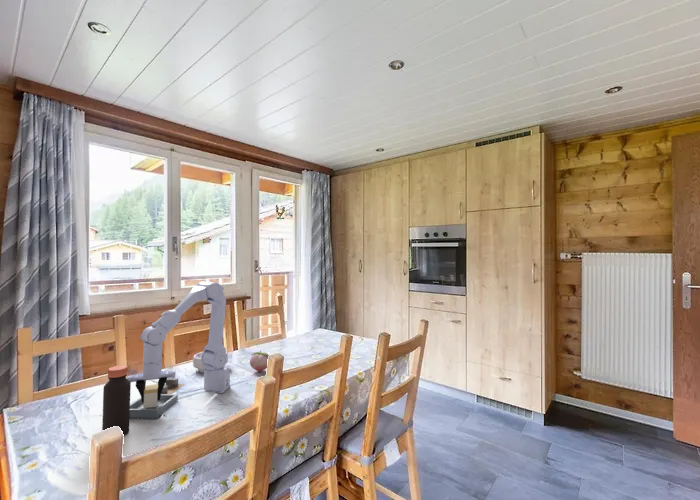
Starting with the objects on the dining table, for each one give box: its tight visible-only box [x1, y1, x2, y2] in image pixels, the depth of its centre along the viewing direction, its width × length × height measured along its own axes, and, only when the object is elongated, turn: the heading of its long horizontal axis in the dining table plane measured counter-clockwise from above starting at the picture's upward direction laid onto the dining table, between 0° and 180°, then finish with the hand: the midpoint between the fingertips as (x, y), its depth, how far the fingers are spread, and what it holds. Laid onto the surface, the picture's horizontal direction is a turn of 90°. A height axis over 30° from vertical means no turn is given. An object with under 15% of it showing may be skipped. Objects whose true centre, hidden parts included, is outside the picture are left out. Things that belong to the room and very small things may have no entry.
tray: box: [130, 393, 179, 420], centre depth 116 cm, size 12×13×3 cm
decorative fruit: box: [249, 350, 270, 373], centre depth 157 cm, size 9×8×10 cm
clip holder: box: [161, 377, 185, 394], centre depth 131 cm, size 8×13×4 cm, turn 0°
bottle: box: [101, 364, 132, 437], centre depth 100 cm, size 7×7×20 cm
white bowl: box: [192, 350, 229, 374], centre depth 158 cm, size 15×15×8 cm
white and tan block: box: [143, 383, 160, 409], centre depth 117 cm, size 4×5×6 cm
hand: (151, 400), depth 116 cm, fingers closed on white and tan block, 4 cm apart
